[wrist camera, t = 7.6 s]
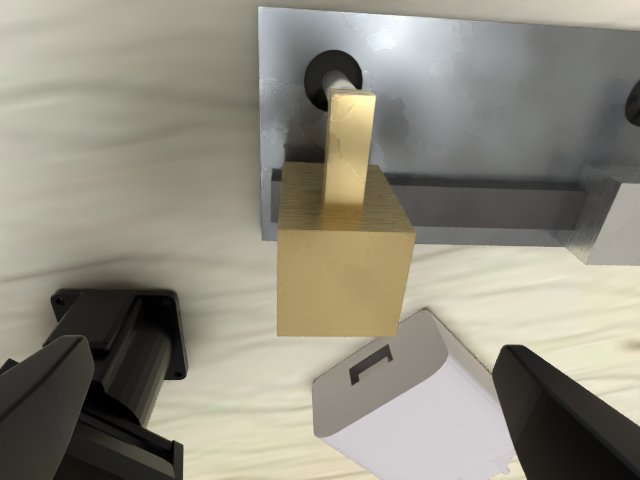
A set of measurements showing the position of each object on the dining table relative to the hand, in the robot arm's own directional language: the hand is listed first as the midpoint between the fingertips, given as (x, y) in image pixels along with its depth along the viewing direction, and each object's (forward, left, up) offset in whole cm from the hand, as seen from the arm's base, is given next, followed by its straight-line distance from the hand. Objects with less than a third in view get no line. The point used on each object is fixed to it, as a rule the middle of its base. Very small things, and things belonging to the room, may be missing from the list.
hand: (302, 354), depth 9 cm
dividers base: (+2, -8, -12) cm, 15 cm away
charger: (-17, -10, -12) cm, 23 cm away
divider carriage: (+1, -1, -11) cm, 11 cm away
